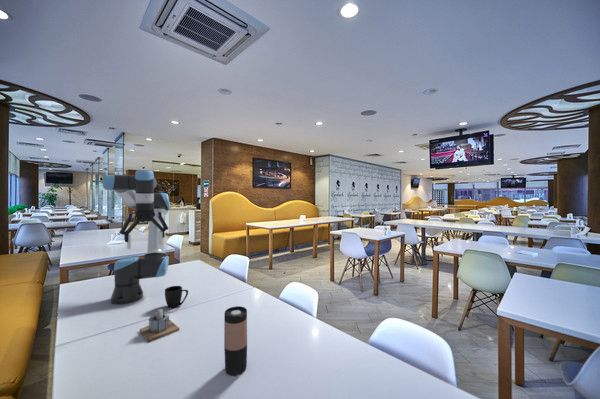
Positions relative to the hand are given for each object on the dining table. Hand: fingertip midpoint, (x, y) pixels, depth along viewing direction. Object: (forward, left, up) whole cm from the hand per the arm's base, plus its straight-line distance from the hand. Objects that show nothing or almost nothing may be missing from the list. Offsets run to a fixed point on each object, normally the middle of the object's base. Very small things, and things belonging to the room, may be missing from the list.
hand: (145, 246), depth 121 cm
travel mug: (+63, +9, -35) cm, 72 cm away
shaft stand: (+18, 0, -35) cm, 39 cm away
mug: (-1, +15, -35) cm, 38 cm away
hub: (+18, 0, -34) cm, 38 cm away
